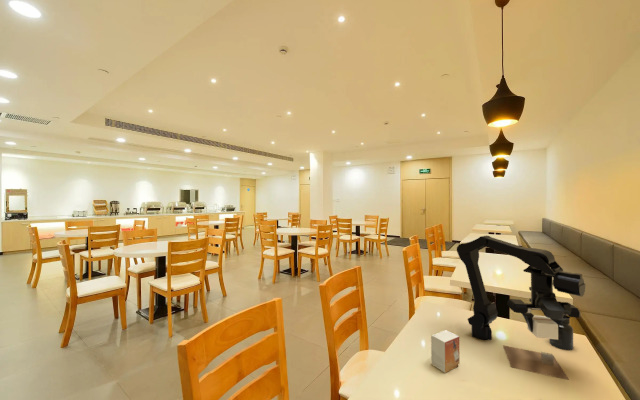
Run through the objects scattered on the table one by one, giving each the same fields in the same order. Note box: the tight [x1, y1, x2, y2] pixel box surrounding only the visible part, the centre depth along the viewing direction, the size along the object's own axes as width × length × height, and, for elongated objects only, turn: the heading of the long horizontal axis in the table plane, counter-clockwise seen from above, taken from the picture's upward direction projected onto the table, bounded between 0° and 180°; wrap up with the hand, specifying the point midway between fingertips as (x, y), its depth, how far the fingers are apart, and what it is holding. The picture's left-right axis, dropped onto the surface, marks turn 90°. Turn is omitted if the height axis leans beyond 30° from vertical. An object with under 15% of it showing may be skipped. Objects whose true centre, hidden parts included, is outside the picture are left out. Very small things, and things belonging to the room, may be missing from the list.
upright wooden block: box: [540, 351, 555, 366], centre depth 89 cm, size 3×1×4 cm, turn 64°
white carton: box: [527, 314, 558, 340], centre depth 90 cm, size 6×6×5 cm
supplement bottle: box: [548, 318, 574, 351], centre depth 100 cm, size 7×7×12 cm
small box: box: [430, 329, 461, 374], centre depth 91 cm, size 8×6×10 cm
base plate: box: [502, 345, 570, 381], centre depth 91 cm, size 15×14×1 cm
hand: (542, 332), depth 90 cm, fingers closed on white carton, 6 cm apart
